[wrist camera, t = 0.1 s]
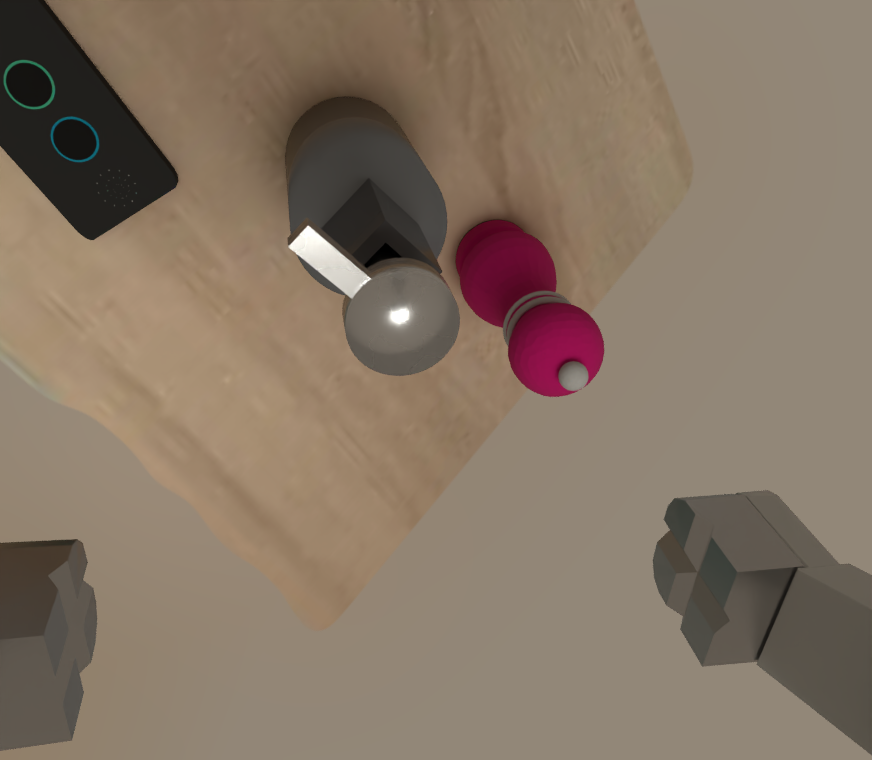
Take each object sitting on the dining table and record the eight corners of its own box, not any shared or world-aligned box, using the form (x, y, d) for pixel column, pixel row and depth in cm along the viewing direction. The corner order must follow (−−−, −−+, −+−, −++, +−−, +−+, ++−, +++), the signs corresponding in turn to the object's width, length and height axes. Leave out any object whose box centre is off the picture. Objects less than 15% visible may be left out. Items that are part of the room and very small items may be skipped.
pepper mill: (435, 239, 59) (500, 364, 43) (518, 197, 59) (617, 307, 42) (469, 311, 63) (542, 452, 47) (548, 272, 63) (650, 401, 46)
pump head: (259, 213, 38) (257, 283, 31) (326, 139, 37) (341, 193, 29) (380, 313, 42) (403, 394, 35) (444, 249, 41) (482, 320, 33)
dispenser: (258, 164, 54) (254, 282, 36) (344, 68, 52) (383, 144, 34) (351, 244, 58) (388, 384, 41) (434, 158, 56) (510, 267, 39)
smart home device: (86, 245, 54) (-169, -36, 43) (91, 237, 55) (-154, -38, 44) (182, 183, 53) (-53, -120, 42) (185, 176, 54) (-42, -118, 43)
